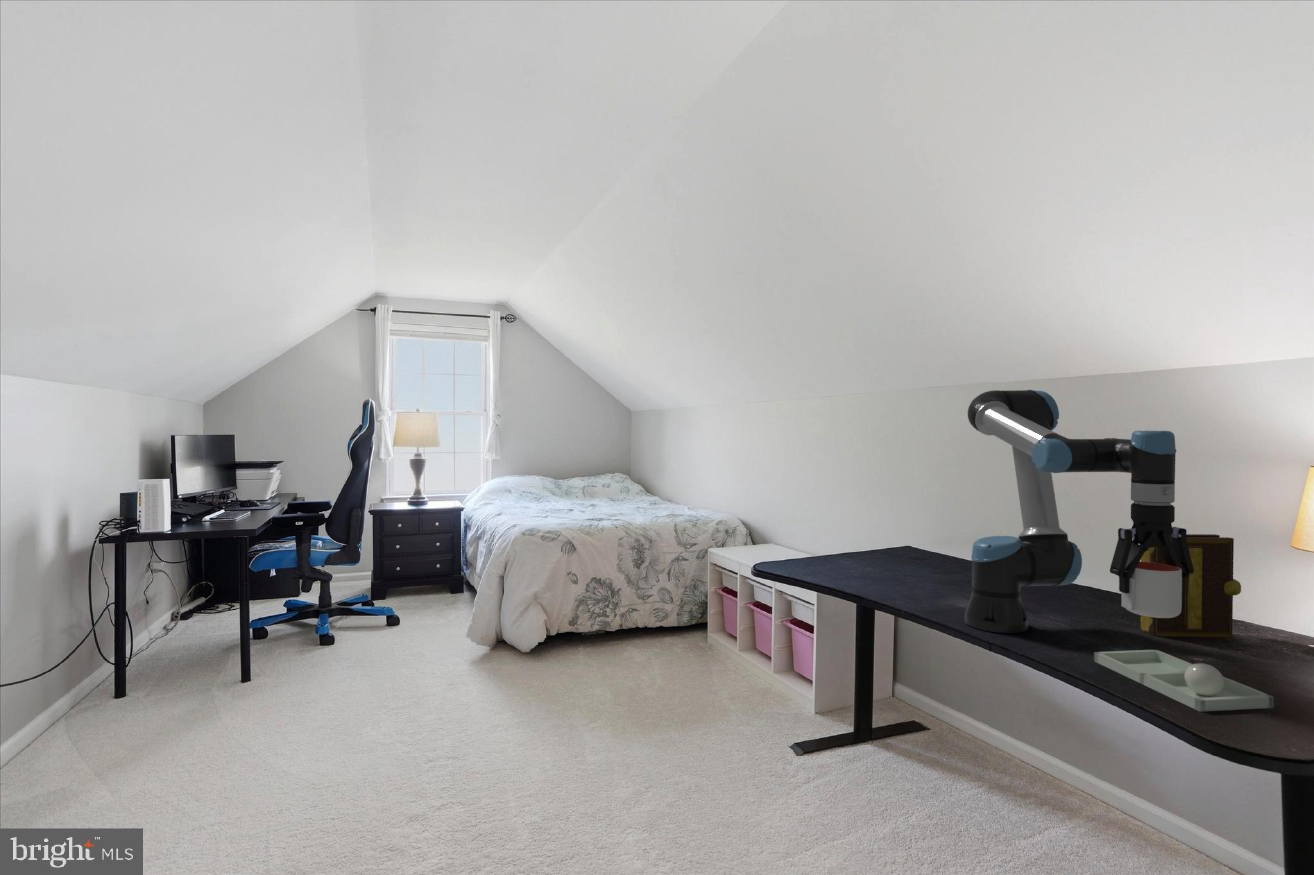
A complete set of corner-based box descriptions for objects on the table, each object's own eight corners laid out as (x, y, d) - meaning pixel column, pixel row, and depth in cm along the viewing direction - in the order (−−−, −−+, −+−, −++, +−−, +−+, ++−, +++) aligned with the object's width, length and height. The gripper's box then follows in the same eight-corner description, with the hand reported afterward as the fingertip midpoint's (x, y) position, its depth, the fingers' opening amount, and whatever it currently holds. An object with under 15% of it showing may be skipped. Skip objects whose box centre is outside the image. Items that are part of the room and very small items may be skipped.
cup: (1155, 606, 148) (1156, 561, 147) (1193, 619, 138) (1194, 571, 137) (1111, 606, 147) (1112, 561, 147) (1146, 620, 137) (1146, 571, 137)
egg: (1176, 689, 133) (1176, 659, 133) (1203, 687, 134) (1204, 657, 133) (1203, 701, 127) (1204, 670, 127) (1232, 700, 128) (1232, 669, 127)
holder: (1094, 666, 149) (1094, 652, 149) (1156, 663, 150) (1156, 649, 150) (1199, 717, 123) (1199, 700, 123) (1273, 713, 124) (1273, 696, 124)
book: (1156, 637, 168) (1157, 538, 167) (1134, 627, 177) (1135, 533, 176) (1248, 639, 167) (1249, 539, 166) (1221, 628, 175) (1222, 533, 175)
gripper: (1116, 506, 137) (1115, 613, 138) (1217, 504, 139) (1216, 610, 140) (1089, 501, 145) (1088, 604, 145) (1185, 500, 147) (1184, 600, 147)
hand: (1151, 607), depth 142 cm, fingers closed on cup, 10 cm apart
